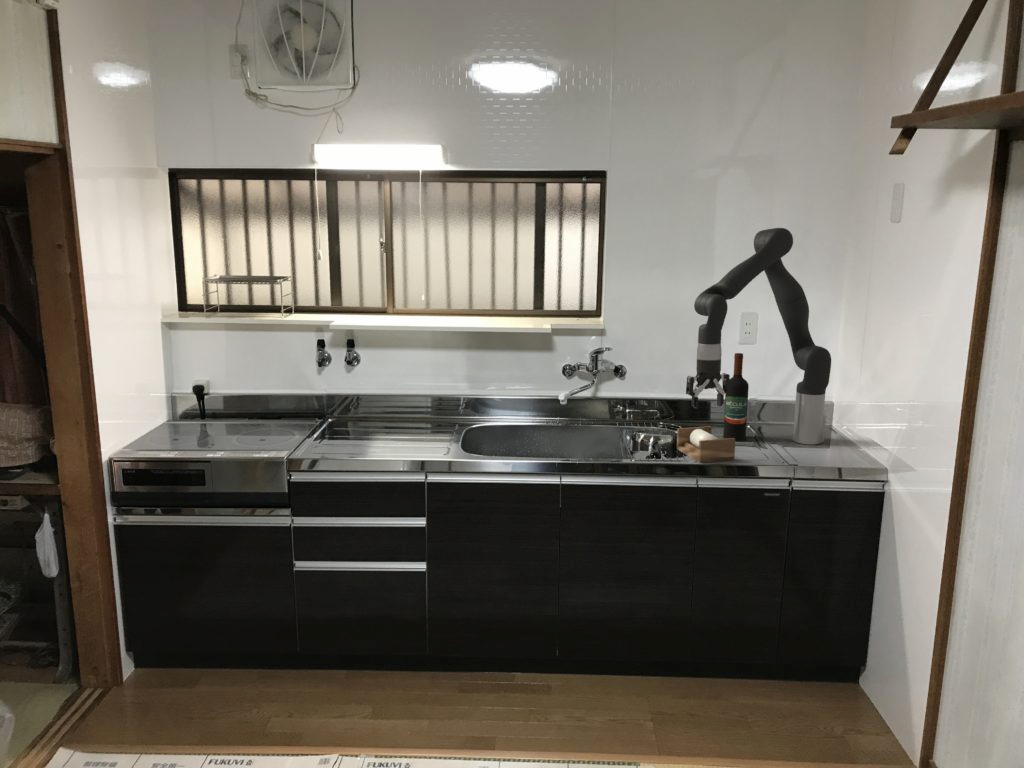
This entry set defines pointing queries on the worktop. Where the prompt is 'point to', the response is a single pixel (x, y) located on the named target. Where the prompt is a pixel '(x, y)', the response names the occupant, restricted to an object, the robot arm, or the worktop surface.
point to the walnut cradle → (705, 446)
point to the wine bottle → (736, 403)
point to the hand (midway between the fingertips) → (707, 406)
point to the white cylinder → (700, 437)
